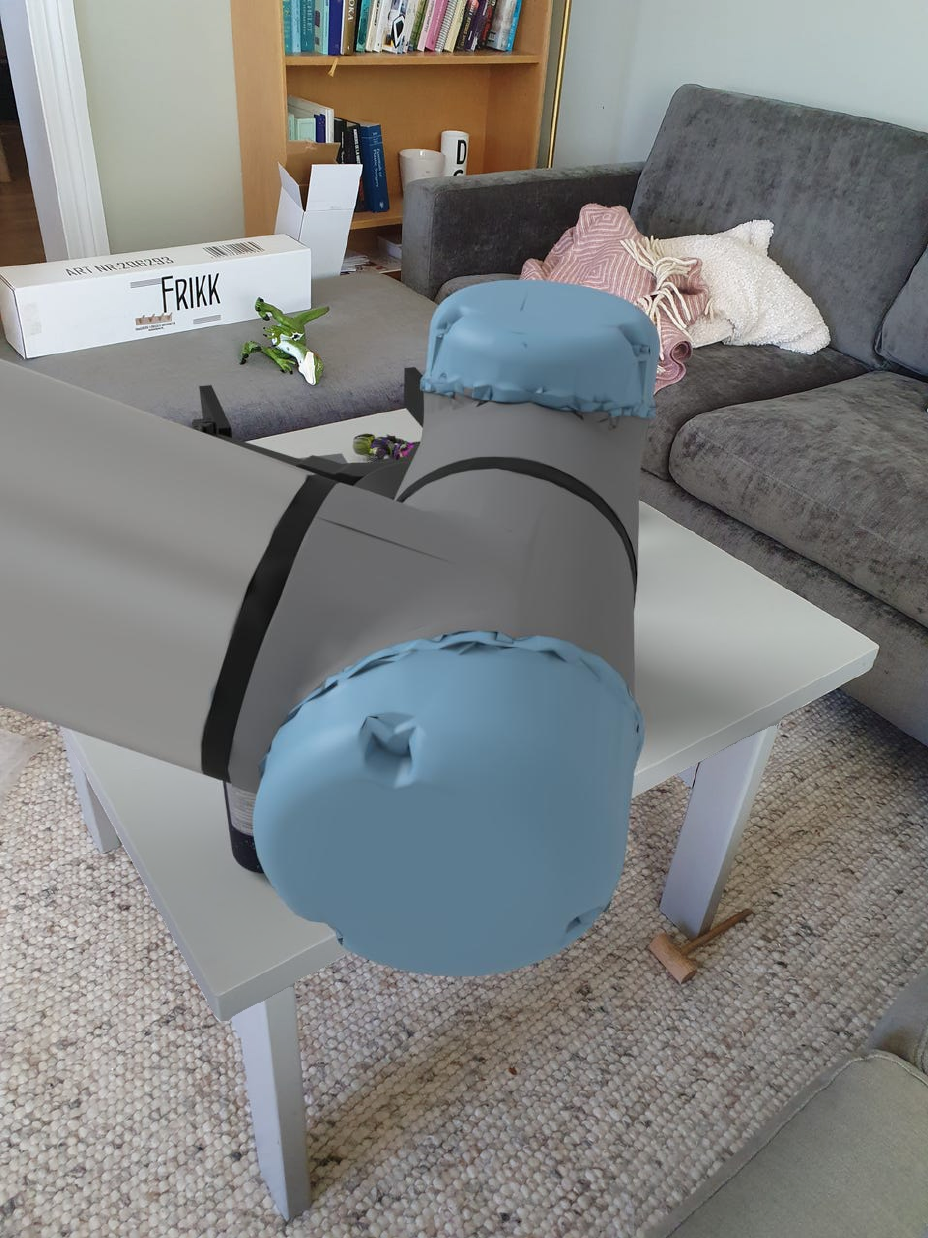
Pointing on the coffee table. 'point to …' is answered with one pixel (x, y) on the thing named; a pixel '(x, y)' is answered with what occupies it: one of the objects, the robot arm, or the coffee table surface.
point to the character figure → (381, 446)
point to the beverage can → (242, 827)
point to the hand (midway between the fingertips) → (312, 395)
